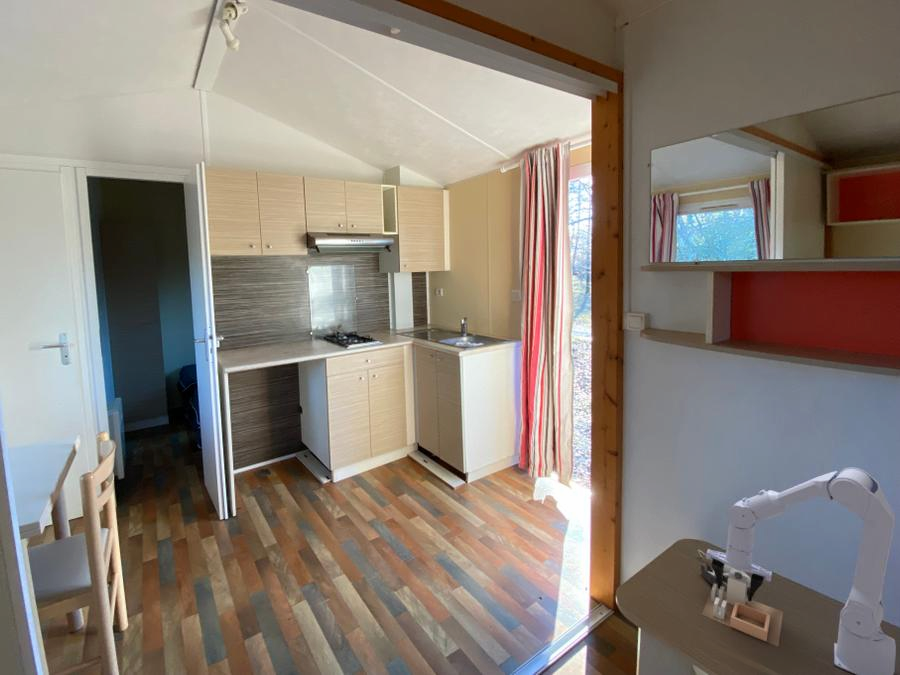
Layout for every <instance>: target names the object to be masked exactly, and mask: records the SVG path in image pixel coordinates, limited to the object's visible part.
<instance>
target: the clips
mask: <svg viewBox="0 0 900 675" xmlns="http://www.w3.org/2000/svg"><path fill="white" fill-rule="evenodd" d="M712 587H713V588H711V590H712V595H711V601H713V602H714V609H713V616H715V617H718V618H720V619H722V620H724V618H725V615H726V606H727V601H725V600H723V597H724V590H725V586H723V585H722V586H721V587H720V590H719V593H717V587H718V583H717V584H715V583H714V585H712ZM722 601H723V602H722ZM719 604H722V605H721V608H720V607H719Z"/></svg>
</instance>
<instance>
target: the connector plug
mask: <svg viewBox="0 0 900 675" xmlns="http://www.w3.org/2000/svg"><path fill="white" fill-rule="evenodd" d="M748 576H749V575H748ZM748 576H745V575H742V574H741V573H739V572H733V571H730V574H729V577H727V582H728V585H727V586H726V590H727V598H726V601H727V603H730V604H732V605H735V602H739V603H741V604H744V605H745V603H746V598H747V593H748V588H747V584H748Z"/></svg>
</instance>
